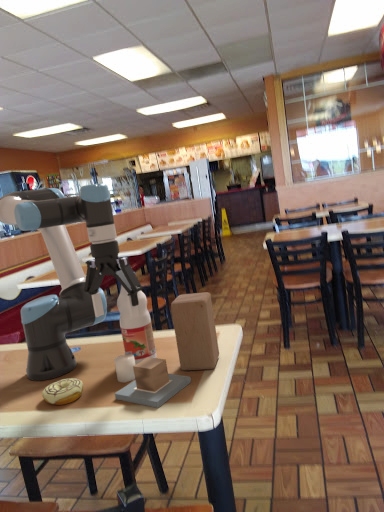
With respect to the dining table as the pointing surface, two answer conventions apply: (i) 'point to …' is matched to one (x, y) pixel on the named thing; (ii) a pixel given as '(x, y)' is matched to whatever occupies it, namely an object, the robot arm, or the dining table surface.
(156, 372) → the walnut cube
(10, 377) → the dining table surface
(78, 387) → the decorated donut
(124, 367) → the marshmallow
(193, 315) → the wooden block
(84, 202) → the robot arm
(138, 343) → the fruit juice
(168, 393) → the slate board
